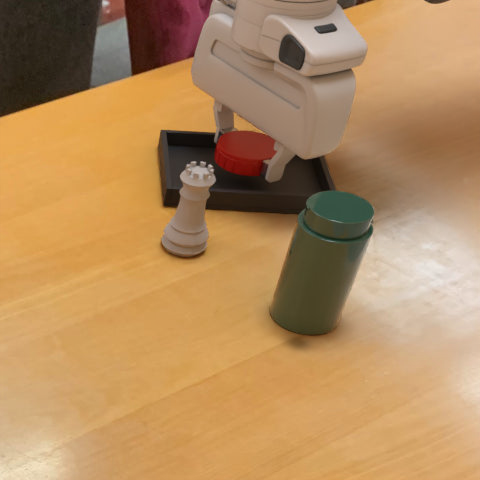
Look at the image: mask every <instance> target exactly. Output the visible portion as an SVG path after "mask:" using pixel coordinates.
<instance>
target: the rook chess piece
mask: <svg viewBox="0 0 480 480" xmlns="http://www.w3.org/2000/svg"><path fill="white" fill-rule="evenodd" d="M205 165H206V162H202V161H201V163H200V166H196V161H194V162H191V163H190V164H187V165H186V169H185V170H184V171H183V172H182V173H181V175H180V178H181V181H182V183H183V187H182V188H181V189H180V191H179V192H180V195H181V197H180V202H179V205H178V207H176V210H175V212H174V213H175V214H174V216H172V217H171V218H170V220H169V222H167V224H166V226H164V229H163V235H162V237H161V239H160V240H161V244H162V246H163V248H164V249H165V250H166V251H167V252H168V253H170V254H172V255H174V256H178V257H183V258H191V257H195V256H198V255H199V254H201V253H203V252H204V251H205V250H206V249H207V247H208V245H209V243H208V239H209V237H210V234H209V229H208V227H207V221H206V209H205V206H206V201H207V199H208V198H209V196H210V193H209V191H208V190H209V187H211V186H212V185H213V184H214V183H215V181H216V178H215V176H214V174H213V172H214V169H213V166H212V165H211V164H210V165H208V168H206V167H205Z"/></svg>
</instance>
